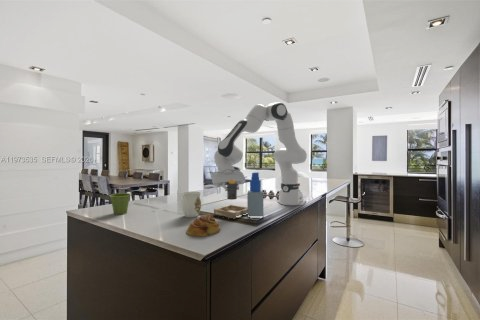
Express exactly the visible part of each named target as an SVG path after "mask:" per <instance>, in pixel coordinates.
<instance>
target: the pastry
mask: <svg viewBox="0 0 480 320" xmlns="http://www.w3.org/2000/svg"><path fill="white" fill-rule="evenodd" d="M220 231H221V228H220V223H219V222H218V221H216V219H215V218H214V215H212V214H211V213H209V212H208V213H204V214H202V215H200V217H197V218H196V219H194V220H192V222H190V224H189V225H188V227H187V229H186V230H185V234H186V235H187V236H191V237H202V236H203V237H204V238H205V237H206V236H210V235H211V234H212V235H215V234H218V233H220ZM203 237H202V238H203Z"/></svg>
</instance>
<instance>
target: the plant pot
mask: <svg viewBox="0 0 480 320" xmlns="http://www.w3.org/2000/svg"><path fill="white" fill-rule="evenodd" d="M131 195H132V193H128V192H125V193H124V192H121V193H113V194H112V193H111V194H109V195H108V196H109V197H110V201H111V207H112V211H113V215H118V216H119V215H124V214H127V213H128V208H129V202H130V198H131Z"/></svg>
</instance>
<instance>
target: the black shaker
mask: <svg viewBox="0 0 480 320" xmlns="http://www.w3.org/2000/svg"><path fill="white" fill-rule="evenodd" d="M226 187H228V191H226V192H227V193H226V194H227V195H226V197H227V200H230V201H232V200H237V198H238V190H237V183H236V184H229V183H227V185H226Z"/></svg>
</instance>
